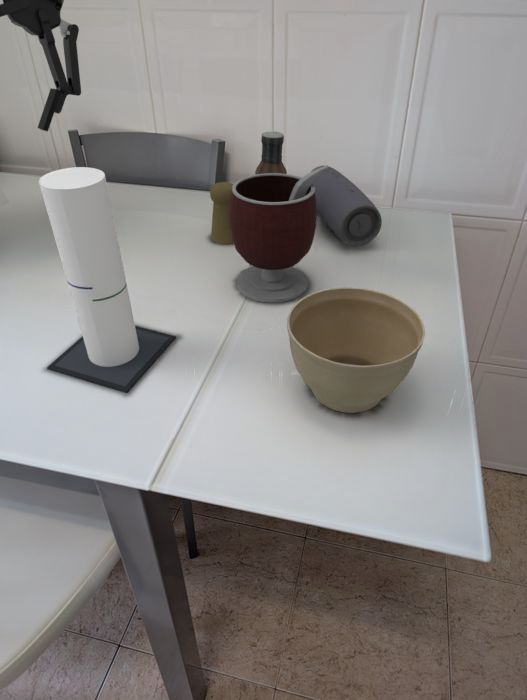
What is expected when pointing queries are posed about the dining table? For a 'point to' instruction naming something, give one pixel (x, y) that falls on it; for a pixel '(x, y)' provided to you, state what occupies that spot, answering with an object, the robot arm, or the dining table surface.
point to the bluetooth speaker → (346, 208)
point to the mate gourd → (273, 232)
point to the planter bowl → (353, 345)
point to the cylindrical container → (92, 262)
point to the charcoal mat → (115, 376)
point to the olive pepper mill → (221, 213)
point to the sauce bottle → (271, 154)
